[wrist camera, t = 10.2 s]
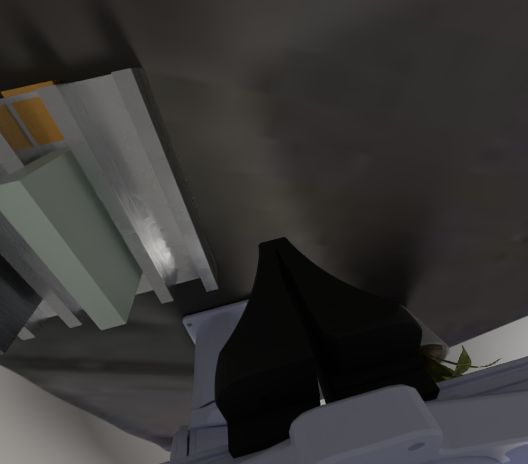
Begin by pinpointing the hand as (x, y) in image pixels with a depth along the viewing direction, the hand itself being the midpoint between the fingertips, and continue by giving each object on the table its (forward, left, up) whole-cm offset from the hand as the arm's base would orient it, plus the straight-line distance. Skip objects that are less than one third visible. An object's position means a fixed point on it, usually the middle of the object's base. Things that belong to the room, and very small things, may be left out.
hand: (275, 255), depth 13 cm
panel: (+1, +11, -8) cm, 14 cm away
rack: (+1, +13, -9) cm, 16 cm away
